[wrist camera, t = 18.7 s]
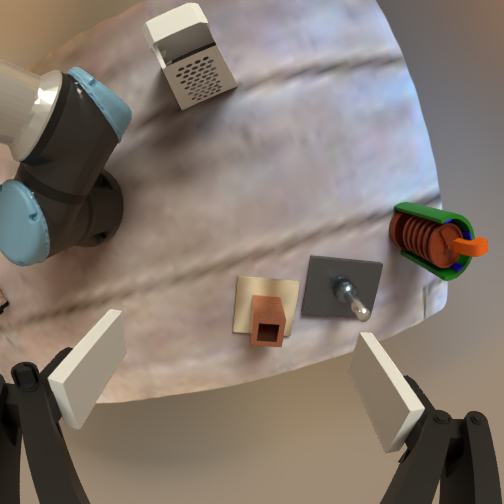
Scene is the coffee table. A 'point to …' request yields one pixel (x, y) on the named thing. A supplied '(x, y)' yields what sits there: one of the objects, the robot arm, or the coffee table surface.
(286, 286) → the plywood pad
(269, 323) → the square copper sleeve
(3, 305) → the woman figure
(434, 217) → the motor
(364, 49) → the coffee table surface
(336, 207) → the coffee table surface
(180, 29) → the grater
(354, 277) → the grey peg stand
